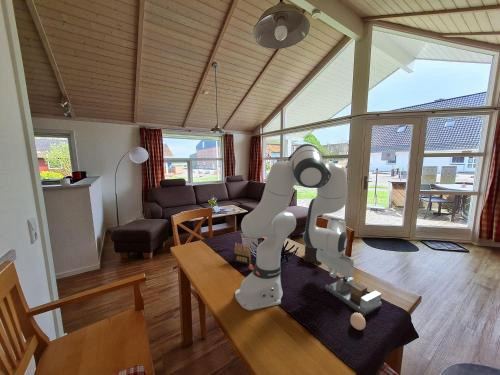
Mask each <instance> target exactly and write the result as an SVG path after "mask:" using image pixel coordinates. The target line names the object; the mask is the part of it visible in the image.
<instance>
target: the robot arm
mask: <svg viewBox="0 0 500 375" xmlns="http://www.w3.org/2000/svg"><path fill="white" fill-rule="evenodd" d="M287 160H288V161H284V160H283V161H282V160H281V161H280V160H279V161H277V162H274V163H273V165H272V166H271V168H270V170H269V172H268V175H267V178H266V181H265V185H264V190H263V193H262V195H261V200H260V202H259V203H258V204H257V206H256V207H255V208H254V209H252V211H250V212H249V213H248V214H246V215H244V217H243V218H242V220H241V223H240V227H241V231H242V233H243V235H244V236H245V237H246V238H252V239H261V238H265V239H264V240H263V241H262V242H260V243H259V244H258V245H257V248H256V258H255V259H256V260H255V261H256V262H255V264H254V265H253V264H252V263H251V264H250V265H248V269H249V270H250V271H252V272H250V273H249V274H248V275H247V276H246V277H245V278H244V279H242V281H241V283H240V286H239V287H240V288H238V289H236V290H235V292H234V293H235V294H234V297H235V300H236V302H237V303H238V304H239V305H240V306H241V307H242V308H243V309H245V310H247V311H254V310H259V309H264V308H269V307H273V306H277V305H281V304H282V300H281V299H282V297H283V295H284V294H283V292H284V291H283V288H282V282H281V273H282V264H281V258H282V257H281V254H282V249H283V245H284V244H285V241H286V239H287V238H288V236H290V235H291V233H293V232H294V231H295V229H296V226H297V219H296V217H295V215H294V214H293V212H291V211H286V209H287V208H288V207H289V204H290V201H291V200H290V199H291V197H292V194H293V189H294V187H295V184H296V183H298V185H300V186H301V187H304V188H308V189H313V188H314V189H315V188H316V191H317V192H316V196H315V197H314V198H312V199H311V200H310V202H309V205H308V209H307V215H306V223H305V229H304V232H303V243H304V244H305V246H306V245H307V246H308V247H309V248H317V253H316V258H317V260H318V261H319V262H321V263H322V264H323V265H325V266H326V267H327V270H328V272H329V276H330V277H331V278H334V279H336V278H337V277H338V276H337V275H338V274H340V275H341V276H343V277H347V278H350V277H352V278H353V277H354V275H355V267H354V266H355V262H354V260H353V259H352V258H351V257H350V256H348V255H346V249H347V248H348V234H347V224H346V223H347V222H346V220H344V219H342V218H336V217H335V218H334V217H330V218H329V219H328V221H327V226H326V228H324V227H319V226H317V219H318V217H319V216H323V215H327V214H333V213H337V212H338V211H341V210H342V209H343V208H344V207H345V206H346V204H347V201H348V178H347V174H346V170H345V168H344V167H343V166H342V165H341V164H338V163H326V162H325V161H324V158H323V156H322V154H321V151H320V150H319V148H317V147H316V146H315V145H313V144H310V143H303V144H301V145H300V146H298V147H297V148H296V149H295V150H294V151H293V152H292V153H291V154H290V155H289V156H288V158H287Z"/></svg>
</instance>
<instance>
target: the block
mask: <svg viewBox="0 0 500 375" xmlns="http://www.w3.org/2000/svg"><path fill="white" fill-rule="evenodd" d="M367 292H368V287H367V286H365V285H364V284H362V283H360V282H355V283H353V285H351V294H350V298H352V299H353V300H355V301H356V302H358V303H359V304H360V302H361V297H363V296H365V295H367V294H368V293H367Z"/></svg>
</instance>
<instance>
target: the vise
mask: <svg viewBox="0 0 500 375" xmlns="http://www.w3.org/2000/svg"><path fill="white" fill-rule="evenodd" d="M325 289H326V290H325ZM324 290H325V291H327V292H328V291H329V292H330V293H329V292H328V293H329V294H331V293H332V294H333V295H332V294H331V295H332V296H334V295H335V296H336V297H338V298H339V299H341V300H342V301H344V302H345V303H346V304H348V305H349V306H350V307H349V306H348V305H347V306H348V307H349V308H351V307H352V308H353V309H355V310H356V311H358V312H359V313H360V314H362V315H363V316H364V315H366V314H368V313H369V312H371V311H373V310H374V309H376V308H377V307H379V306H381V307H382V301H381V299H382V293H381V292H379V291H377V290H374V291H371V292H370V293H367V295H365V296H363V297H361V302H360V304H359V303H358V302H356V301H355V300H353V299H352V298H350V294H351V289H350V290H348V291H346V292H344V293H341V294H340V293H339V292H337V291H336V281H335V282H333V283H331V284H325V286H324ZM335 296H334V297H335ZM336 297H335V298H336ZM338 298H337V299H338ZM339 299H338V300H339ZM341 300H340V301H341ZM342 301H341V302H342ZM344 302H343V303H344ZM345 303H344V304H345ZM346 304H345V305H346ZM352 308H351V309H352ZM353 309H352V310H353ZM355 310H354V311H355ZM356 311H355V312H356ZM358 312H357V313H358ZM373 312H374V311H373ZM371 313H372V312H371ZM369 314H370V313H369ZM369 314H368V315H369ZM366 316H367V315H366ZM364 317H365V316H364Z"/></svg>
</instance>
